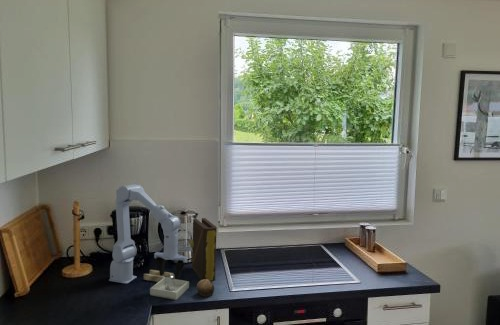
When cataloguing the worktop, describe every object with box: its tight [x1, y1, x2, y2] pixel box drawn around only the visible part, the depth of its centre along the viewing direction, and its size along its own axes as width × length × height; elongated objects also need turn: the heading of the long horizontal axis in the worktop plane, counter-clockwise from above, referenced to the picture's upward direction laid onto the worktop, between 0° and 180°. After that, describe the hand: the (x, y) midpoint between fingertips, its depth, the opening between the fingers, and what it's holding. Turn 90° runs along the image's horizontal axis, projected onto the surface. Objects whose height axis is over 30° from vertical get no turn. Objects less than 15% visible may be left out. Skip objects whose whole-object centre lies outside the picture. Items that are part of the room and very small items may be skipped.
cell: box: [165, 274, 176, 291], centre depth 160 cm, size 4×4×7 cm
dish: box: [149, 278, 190, 301], centre depth 161 cm, size 12×12×3 cm
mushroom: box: [196, 279, 215, 297], centre depth 160 cm, size 8×8×6 cm
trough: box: [143, 269, 175, 283], centre depth 173 cm, size 12×6×2 cm, turn 74°
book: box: [189, 217, 218, 283], centre depth 181 cm, size 22×8×25 cm, turn 25°
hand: (170, 276), depth 160 cm, fingers open, 7 cm apart
